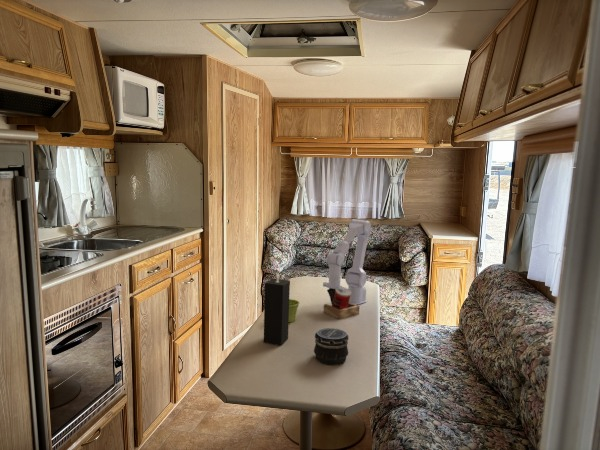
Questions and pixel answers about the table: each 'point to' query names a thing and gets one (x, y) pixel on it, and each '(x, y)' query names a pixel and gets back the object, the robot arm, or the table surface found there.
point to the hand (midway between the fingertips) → (333, 303)
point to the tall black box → (276, 311)
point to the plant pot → (292, 309)
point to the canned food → (341, 298)
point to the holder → (342, 311)
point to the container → (331, 346)
